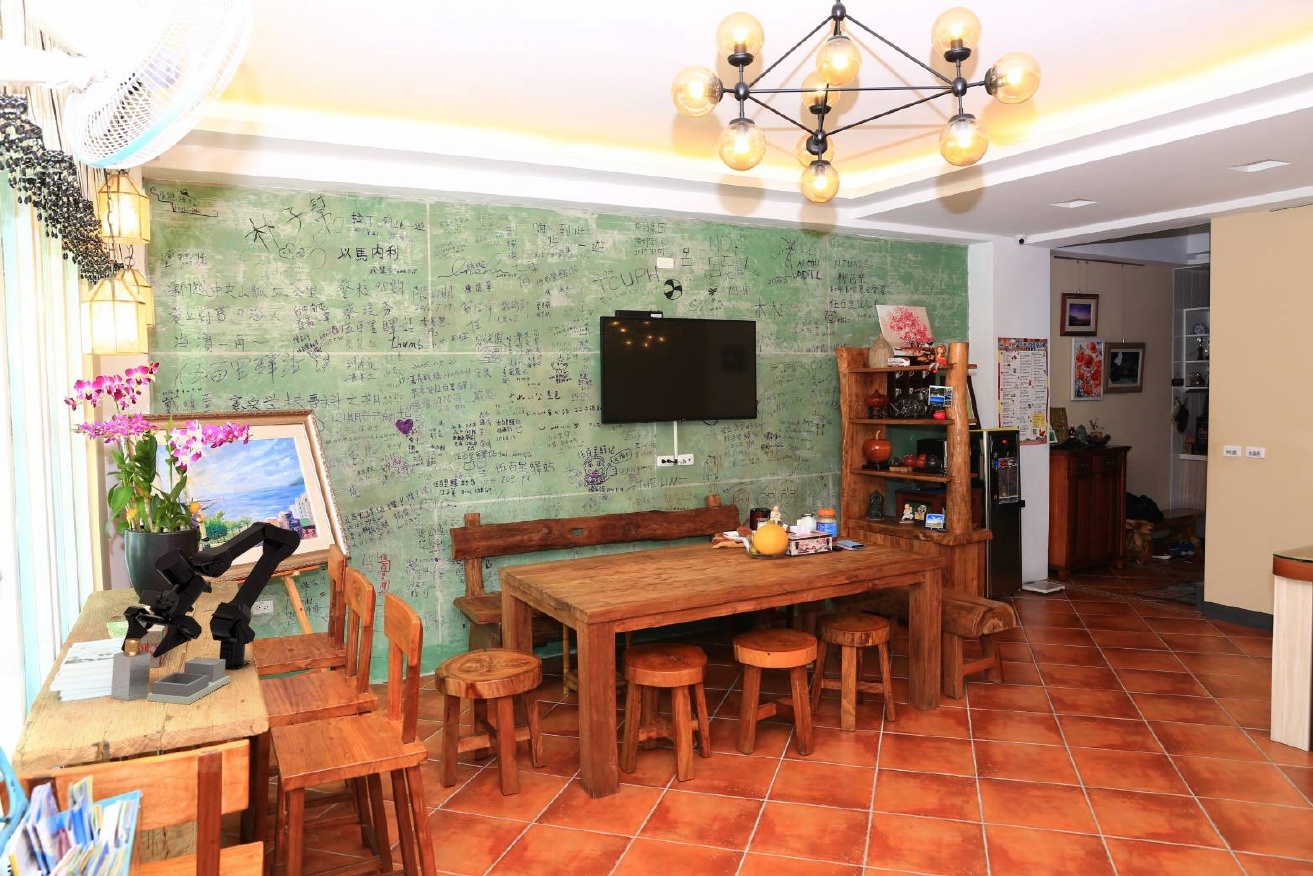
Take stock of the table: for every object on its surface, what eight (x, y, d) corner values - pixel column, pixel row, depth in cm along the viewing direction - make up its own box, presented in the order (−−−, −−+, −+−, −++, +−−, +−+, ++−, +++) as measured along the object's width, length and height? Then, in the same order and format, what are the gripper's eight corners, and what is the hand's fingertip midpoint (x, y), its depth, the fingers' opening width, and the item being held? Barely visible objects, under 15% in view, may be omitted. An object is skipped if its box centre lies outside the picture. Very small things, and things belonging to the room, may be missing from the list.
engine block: (131, 691, 200) (134, 636, 200) (147, 695, 198) (151, 639, 198) (111, 697, 195) (114, 640, 195) (128, 701, 193) (131, 644, 193)
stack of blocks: (159, 668, 218) (162, 618, 218) (130, 669, 216) (133, 618, 216) (172, 645, 238) (175, 600, 238) (145, 646, 236) (148, 600, 236)
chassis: (191, 679, 211) (193, 656, 211) (230, 682, 211) (231, 659, 211) (147, 700, 194) (148, 675, 194) (188, 704, 194) (190, 679, 194)
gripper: (133, 571, 206) (85, 627, 195) (195, 581, 200) (149, 639, 189) (159, 599, 213) (115, 655, 203) (220, 610, 207) (177, 668, 197)
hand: (138, 653), depth 198 cm, fingers open, 9 cm apart
